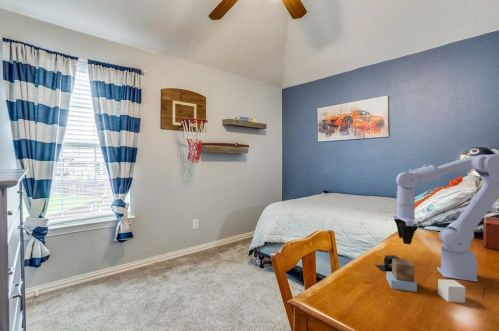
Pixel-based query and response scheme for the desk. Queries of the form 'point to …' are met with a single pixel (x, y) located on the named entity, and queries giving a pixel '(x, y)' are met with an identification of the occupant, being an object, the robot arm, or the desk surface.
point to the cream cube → (451, 291)
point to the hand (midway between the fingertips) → (404, 240)
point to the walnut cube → (403, 270)
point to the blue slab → (400, 283)
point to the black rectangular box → (387, 263)
